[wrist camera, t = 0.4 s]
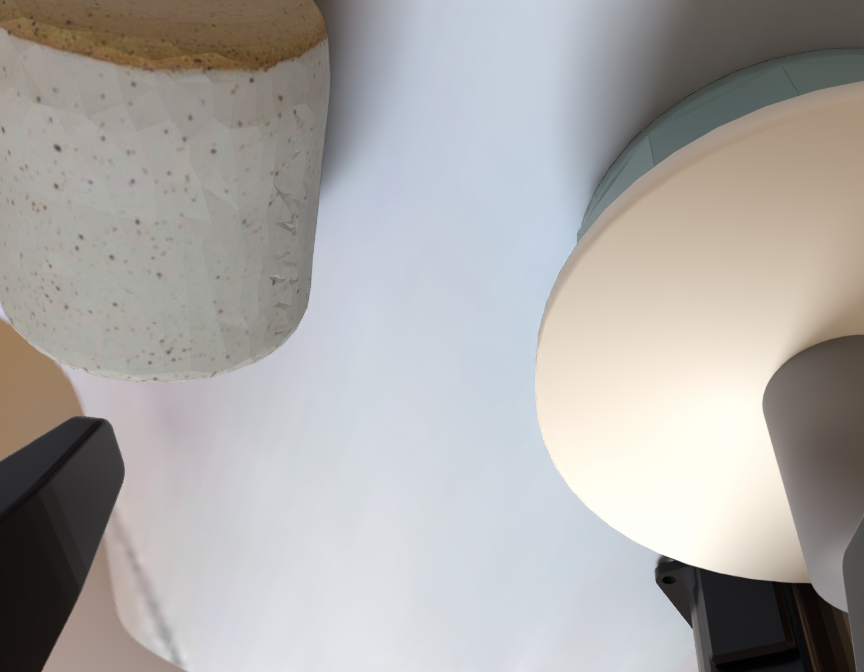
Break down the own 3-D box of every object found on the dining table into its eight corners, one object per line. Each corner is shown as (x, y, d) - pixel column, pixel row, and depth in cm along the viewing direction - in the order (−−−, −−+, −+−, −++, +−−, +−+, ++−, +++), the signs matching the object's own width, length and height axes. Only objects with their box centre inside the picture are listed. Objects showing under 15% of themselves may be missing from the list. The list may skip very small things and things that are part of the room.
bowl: (1084, 332, 22) (1181, 448, 19) (678, 462, 27) (694, 572, 24) (980, -61, 17) (1090, 0, 13) (497, 196, 22) (484, 287, 18)
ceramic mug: (371, -37, 19) (272, 79, 13) (338, 249, 24) (256, 427, 18) (-62, -136, 19) (-361, -67, 13) (-2, 171, 24) (-196, 321, 18)
